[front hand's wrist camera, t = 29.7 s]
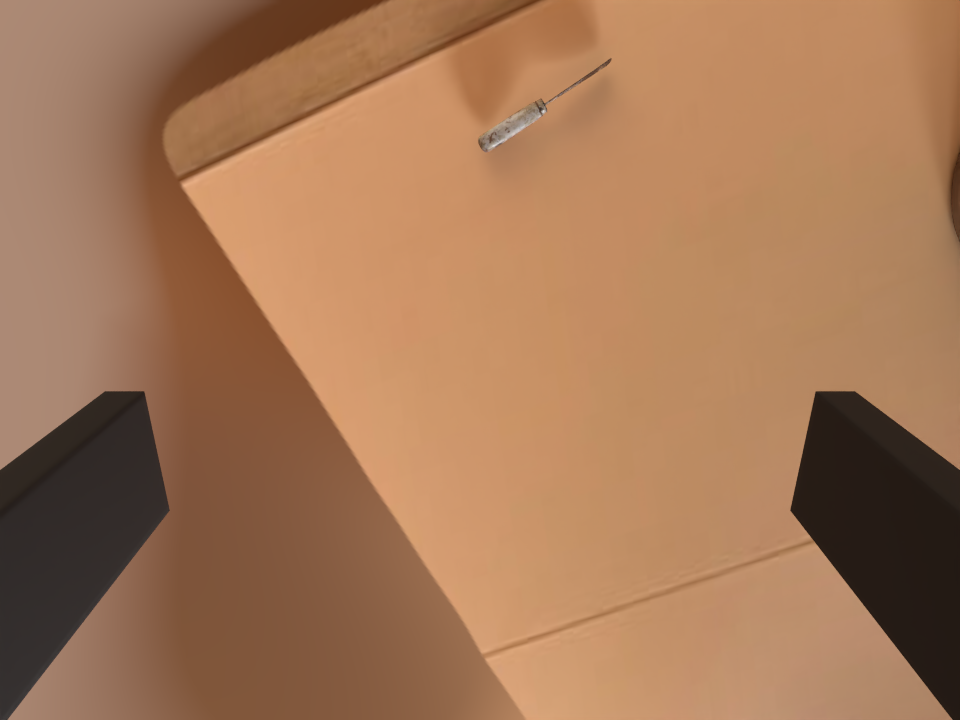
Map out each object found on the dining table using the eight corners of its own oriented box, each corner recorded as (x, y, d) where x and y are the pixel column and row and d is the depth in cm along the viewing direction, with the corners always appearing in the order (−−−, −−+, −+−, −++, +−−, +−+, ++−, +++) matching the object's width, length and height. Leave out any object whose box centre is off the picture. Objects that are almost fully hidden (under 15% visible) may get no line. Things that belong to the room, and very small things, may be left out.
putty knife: (475, 138, 35) (475, 140, 33) (601, 49, 33) (607, 46, 32) (485, 154, 35) (486, 157, 34) (611, 67, 34) (617, 65, 32)
